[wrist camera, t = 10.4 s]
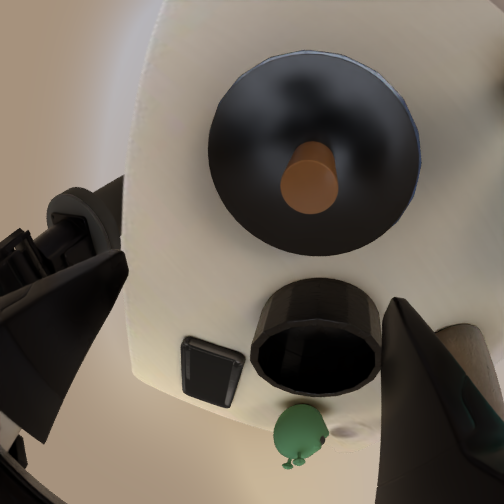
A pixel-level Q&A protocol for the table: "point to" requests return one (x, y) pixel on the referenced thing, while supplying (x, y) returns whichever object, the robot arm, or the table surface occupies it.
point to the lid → (313, 154)
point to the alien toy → (299, 433)
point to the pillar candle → (474, 361)
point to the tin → (318, 339)
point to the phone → (210, 371)
